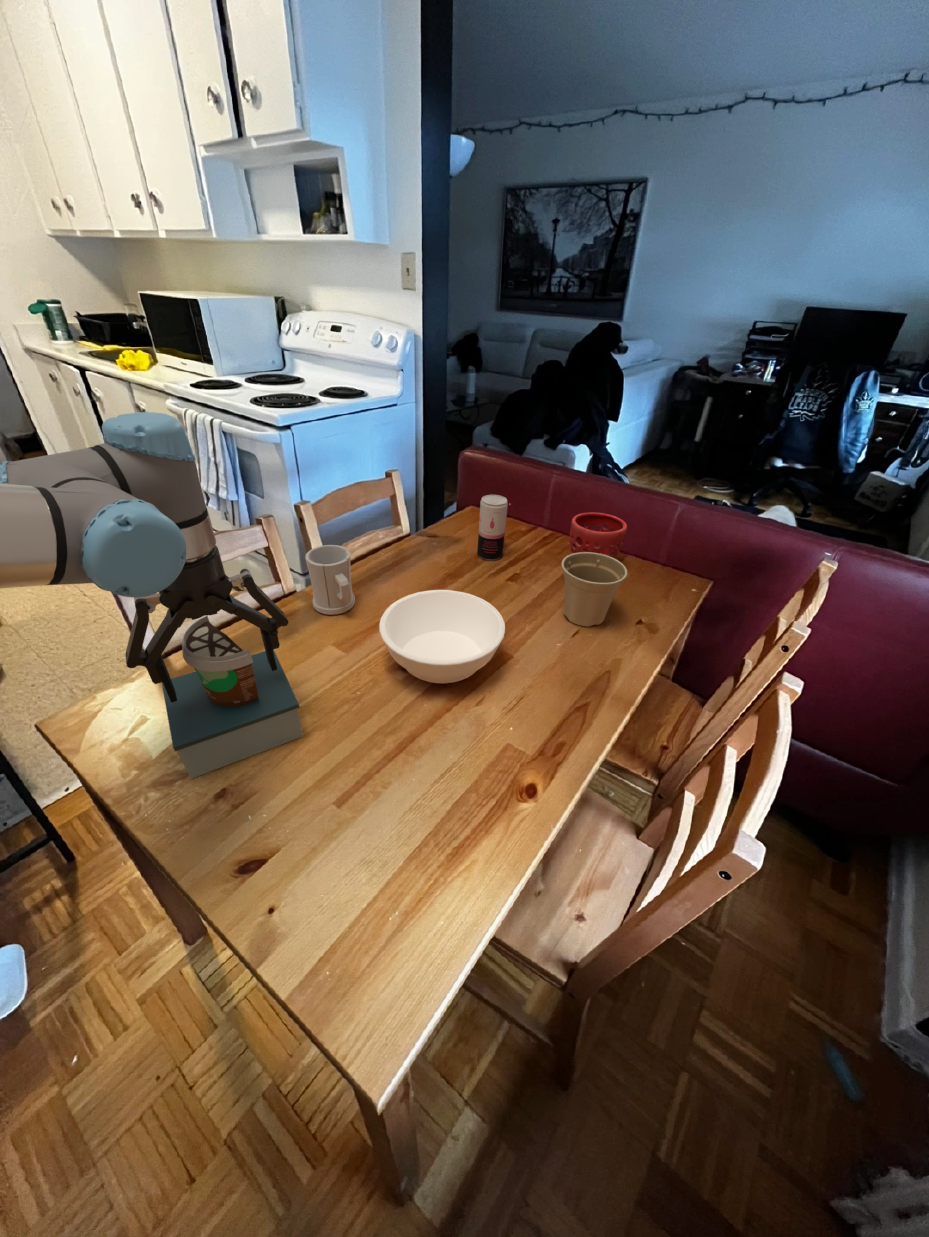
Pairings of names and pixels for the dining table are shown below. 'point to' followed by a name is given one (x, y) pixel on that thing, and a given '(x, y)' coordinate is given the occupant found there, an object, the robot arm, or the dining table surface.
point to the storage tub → (231, 720)
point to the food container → (219, 665)
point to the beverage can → (492, 526)
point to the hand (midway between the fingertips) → (224, 680)
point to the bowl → (442, 634)
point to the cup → (330, 579)
